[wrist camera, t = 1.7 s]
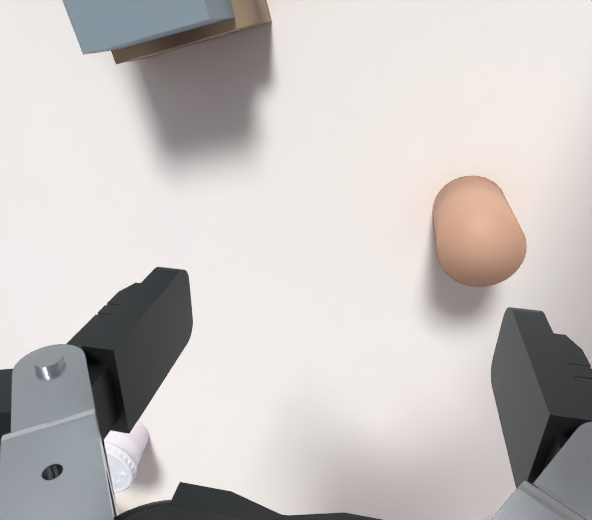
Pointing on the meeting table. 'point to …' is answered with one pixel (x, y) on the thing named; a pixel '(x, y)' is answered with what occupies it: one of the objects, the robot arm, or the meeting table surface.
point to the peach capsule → (477, 232)
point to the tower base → (200, 32)
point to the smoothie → (125, 455)
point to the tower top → (139, 20)
